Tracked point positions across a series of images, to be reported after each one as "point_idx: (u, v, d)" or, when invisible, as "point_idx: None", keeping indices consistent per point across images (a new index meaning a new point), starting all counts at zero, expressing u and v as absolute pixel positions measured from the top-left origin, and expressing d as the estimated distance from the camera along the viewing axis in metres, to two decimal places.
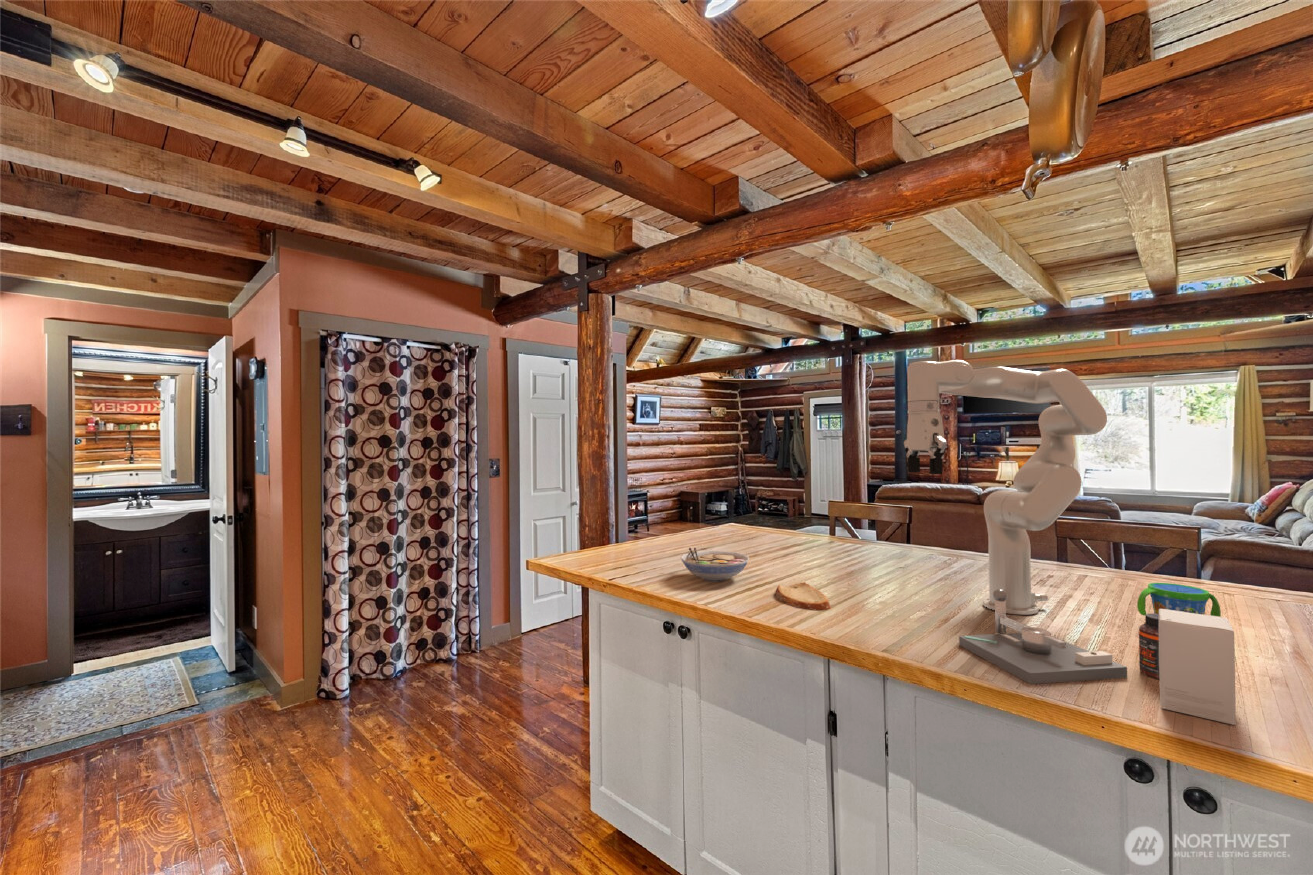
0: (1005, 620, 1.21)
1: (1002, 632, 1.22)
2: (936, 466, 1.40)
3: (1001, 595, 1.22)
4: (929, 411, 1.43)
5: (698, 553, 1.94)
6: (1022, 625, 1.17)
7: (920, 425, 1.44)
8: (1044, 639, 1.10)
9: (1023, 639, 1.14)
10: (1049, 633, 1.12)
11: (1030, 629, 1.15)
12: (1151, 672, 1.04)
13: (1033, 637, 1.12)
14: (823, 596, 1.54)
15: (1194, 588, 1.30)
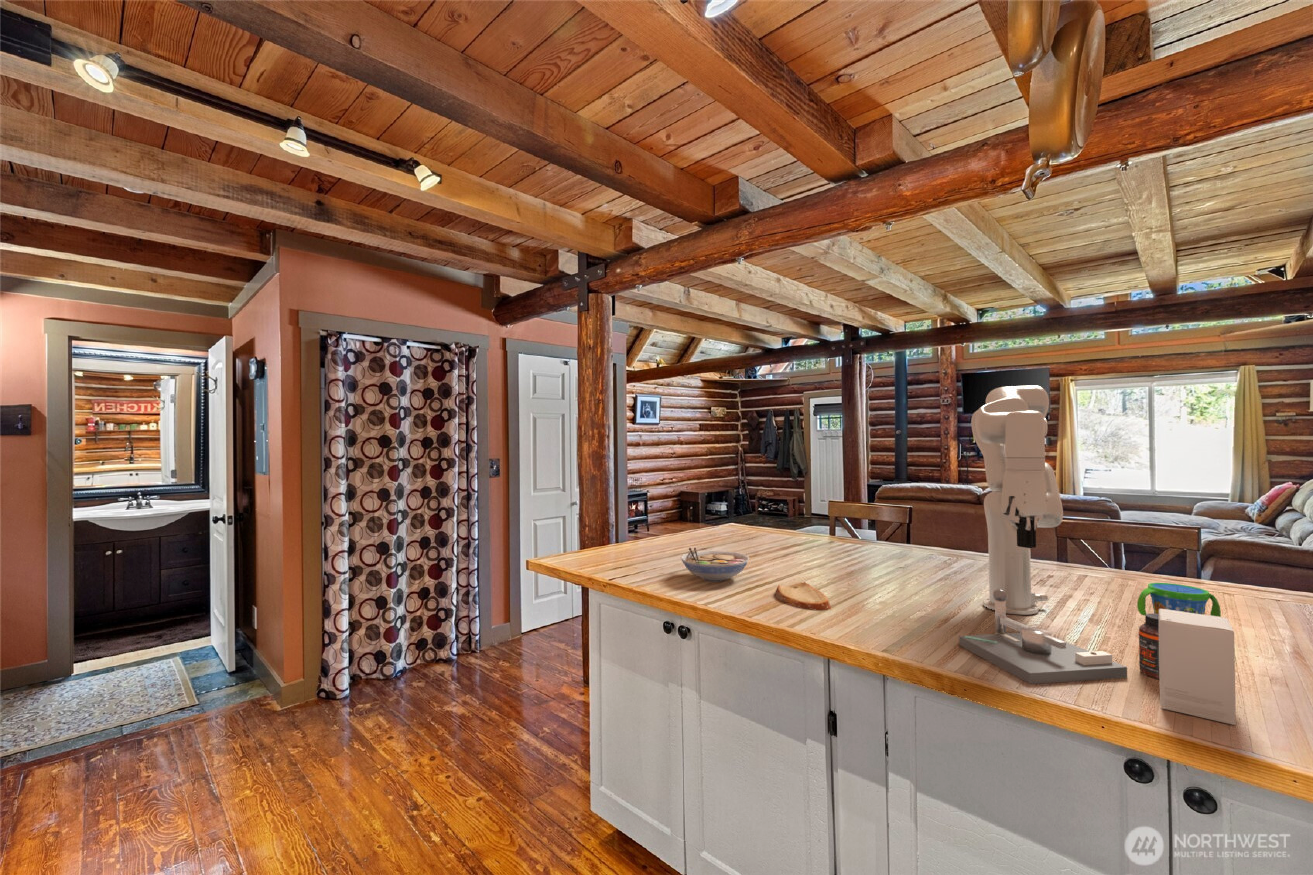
0: (1005, 620, 1.21)
1: (1002, 632, 1.22)
2: None
3: (1001, 595, 1.22)
4: None
5: (698, 553, 1.94)
6: (1022, 625, 1.17)
7: (1042, 486, 1.24)
8: (1044, 639, 1.10)
9: (1023, 639, 1.14)
10: (1049, 633, 1.12)
11: (1030, 629, 1.15)
12: (1151, 672, 1.04)
13: (1033, 637, 1.12)
14: (823, 596, 1.54)
15: (1194, 588, 1.30)
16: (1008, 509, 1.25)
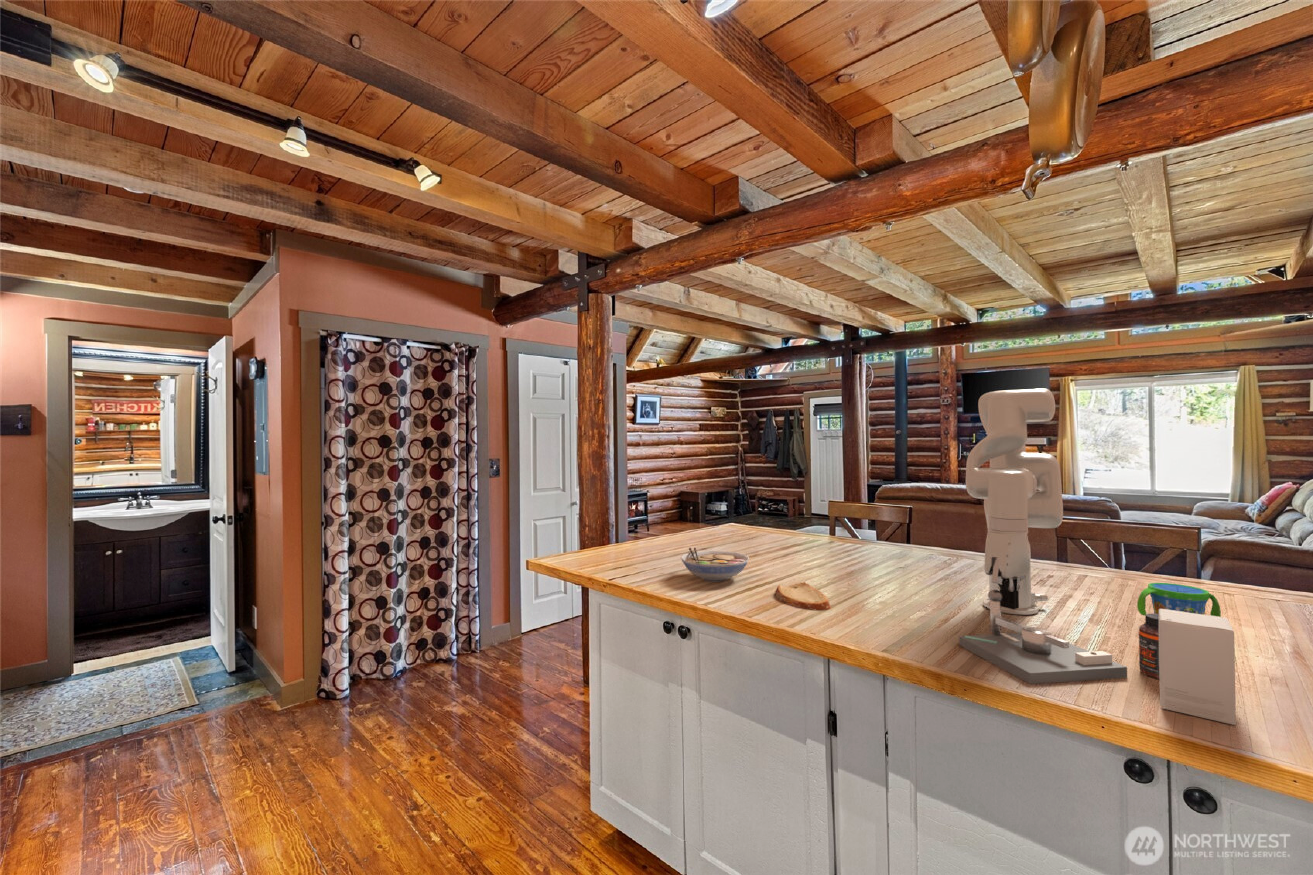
0: (1002, 620, 1.21)
1: (998, 633, 1.22)
2: None
3: (997, 595, 1.22)
4: None
5: (698, 553, 1.94)
6: (1020, 625, 1.17)
7: (1025, 546, 1.23)
8: (1046, 639, 1.10)
9: (1023, 640, 1.13)
10: (1049, 633, 1.12)
11: (1030, 629, 1.14)
12: (1151, 672, 1.04)
13: (1035, 638, 1.11)
14: (823, 596, 1.54)
15: (1194, 588, 1.30)
16: (991, 569, 1.24)
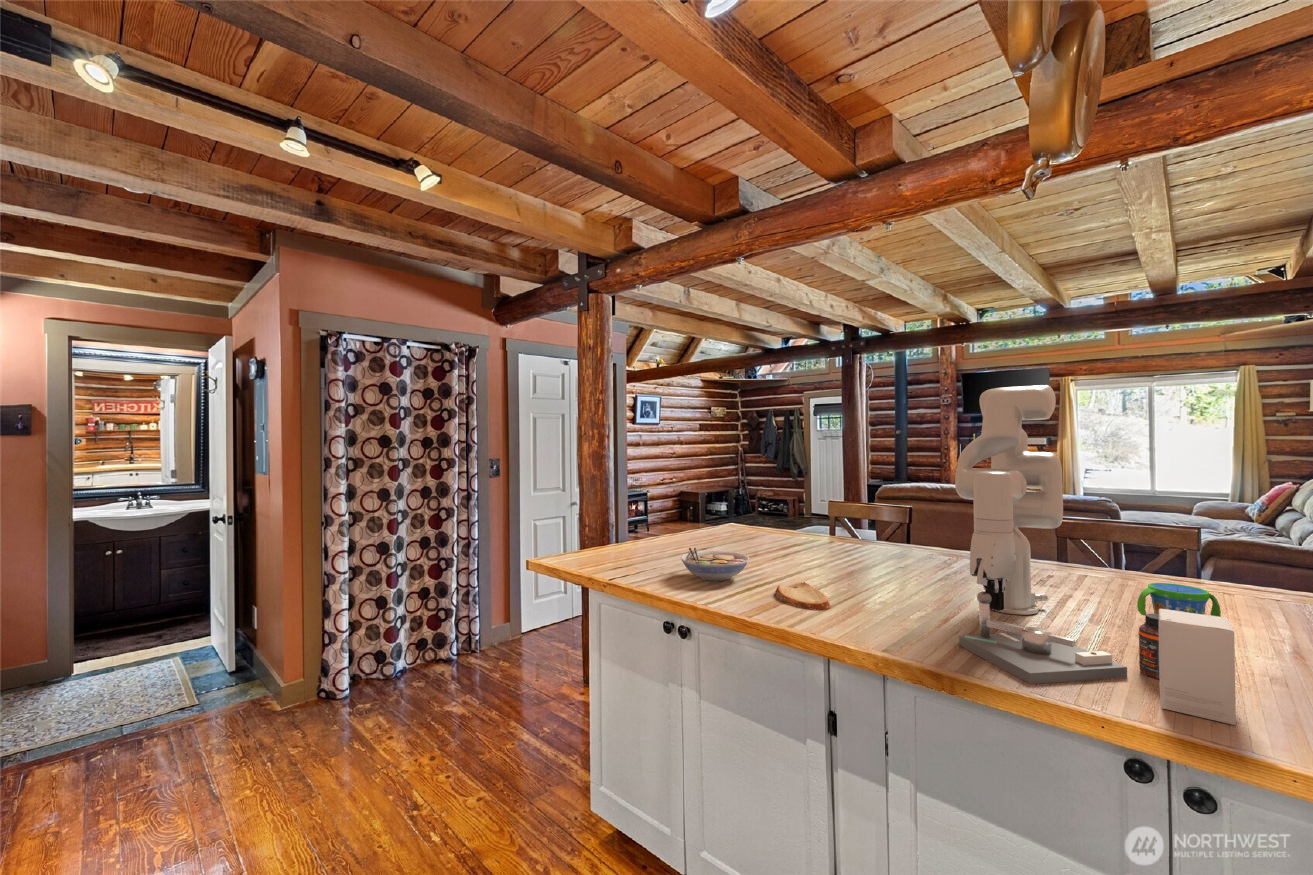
0: (994, 623, 1.19)
1: (988, 635, 1.21)
2: None
3: (988, 597, 1.20)
4: None
5: (698, 553, 1.94)
6: (1017, 626, 1.16)
7: (1010, 547, 1.22)
8: (1051, 639, 1.11)
9: (1027, 642, 1.13)
10: (1048, 631, 1.13)
11: (1029, 630, 1.14)
12: (1151, 672, 1.04)
13: (1041, 638, 1.11)
14: (823, 596, 1.54)
15: (1194, 588, 1.30)
16: (976, 570, 1.24)
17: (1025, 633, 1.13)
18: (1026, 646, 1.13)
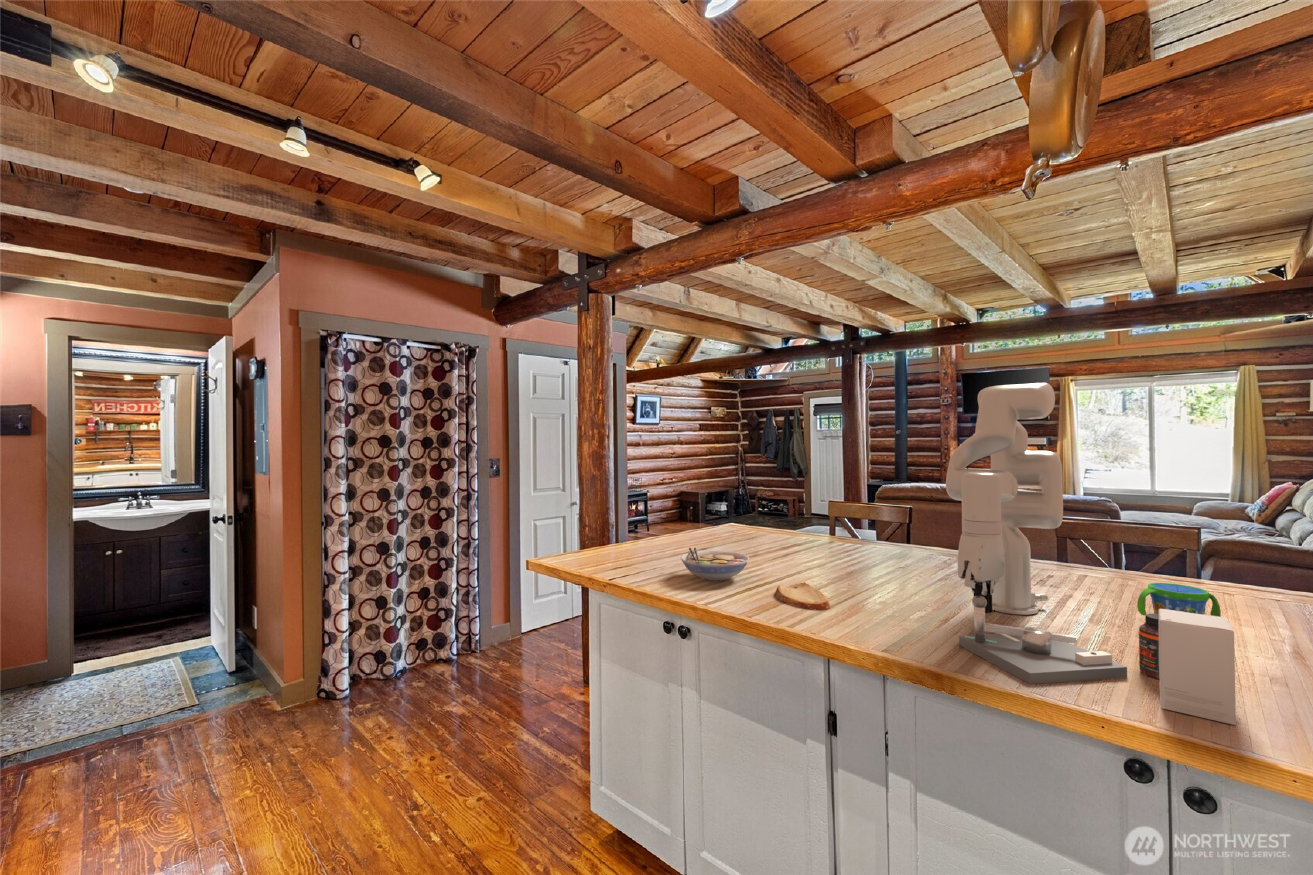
0: (992, 626, 1.17)
1: (985, 640, 1.18)
2: None
3: (985, 601, 1.18)
4: None
5: (698, 553, 1.94)
6: (1016, 628, 1.15)
7: (999, 549, 1.21)
8: (1053, 637, 1.11)
9: (1032, 643, 1.12)
10: (1044, 630, 1.14)
11: (1029, 630, 1.14)
12: (1151, 672, 1.04)
13: (1046, 639, 1.11)
14: (823, 596, 1.54)
15: (1194, 588, 1.30)
16: (964, 572, 1.22)
17: (1030, 635, 1.12)
18: (1031, 648, 1.12)
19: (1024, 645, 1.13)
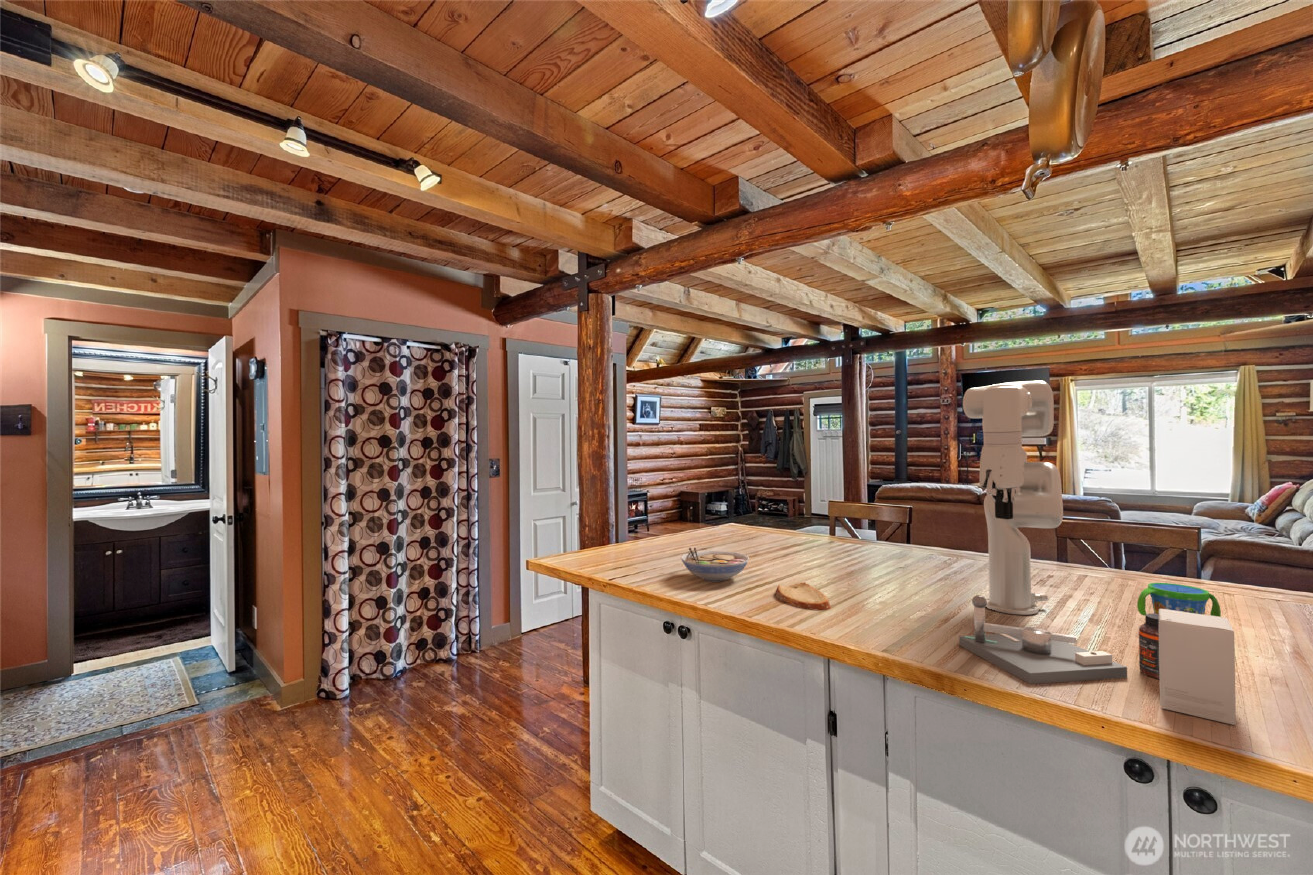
0: (992, 626, 1.17)
1: (985, 640, 1.18)
2: None
3: (985, 601, 1.18)
4: None
5: (698, 553, 1.94)
6: (1016, 628, 1.15)
7: (1019, 459, 1.27)
8: (1053, 637, 1.11)
9: (1033, 643, 1.12)
10: (1044, 630, 1.14)
11: (1029, 630, 1.14)
12: (1151, 672, 1.04)
13: (1046, 638, 1.11)
14: (823, 596, 1.54)
15: (1194, 588, 1.30)
16: (986, 482, 1.29)
17: (1030, 635, 1.12)
18: (1031, 648, 1.12)
19: (1024, 645, 1.13)
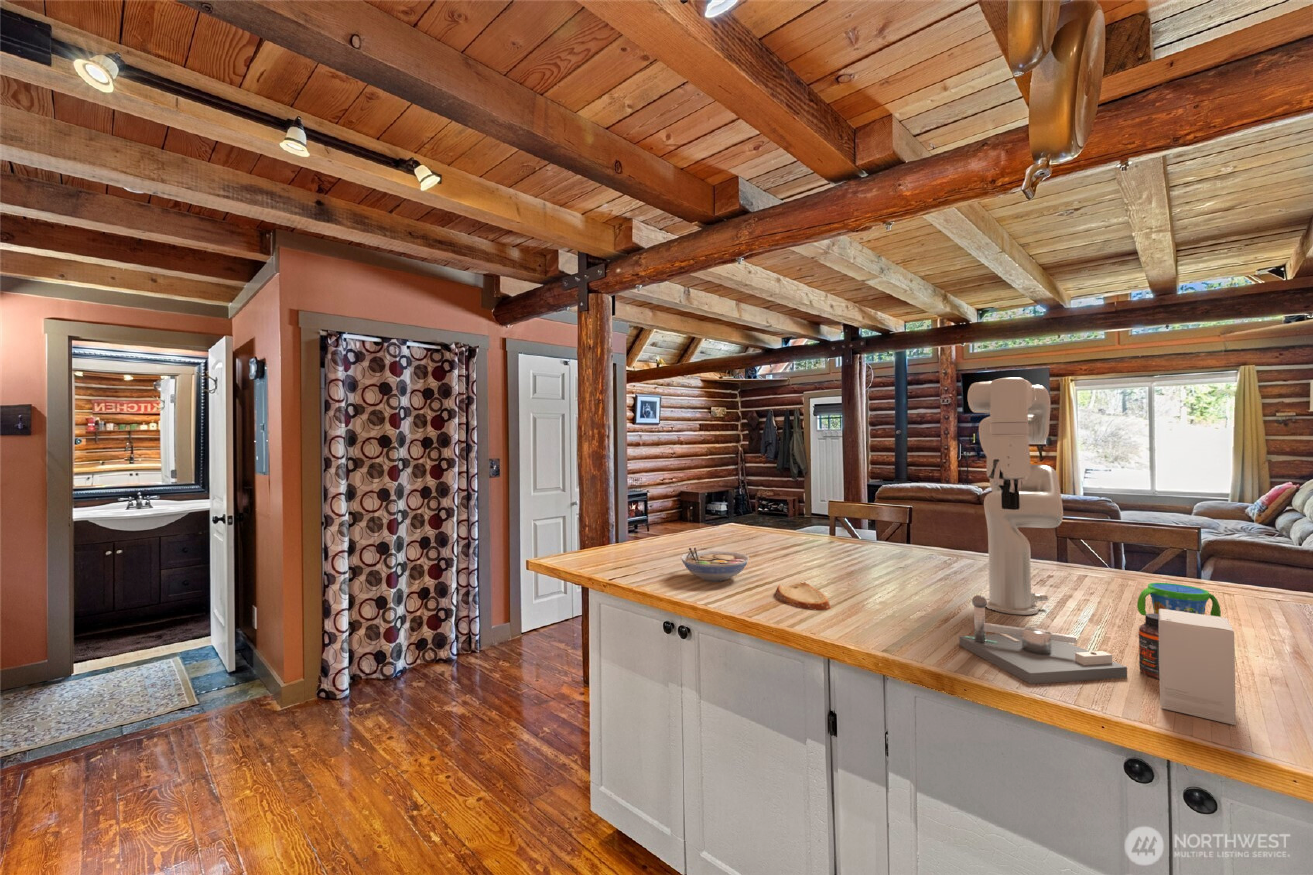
0: (992, 626, 1.17)
1: (985, 640, 1.18)
2: None
3: (985, 601, 1.18)
4: None
5: (698, 553, 1.94)
6: (1016, 628, 1.15)
7: (1025, 450, 1.28)
8: (1053, 637, 1.11)
9: (1033, 643, 1.12)
10: (1044, 630, 1.14)
11: (1029, 630, 1.14)
12: (1151, 672, 1.04)
13: (1046, 638, 1.11)
14: (823, 596, 1.54)
15: (1194, 588, 1.30)
16: (993, 473, 1.30)
17: (1030, 635, 1.12)
18: (1031, 648, 1.12)
19: (1024, 645, 1.13)
